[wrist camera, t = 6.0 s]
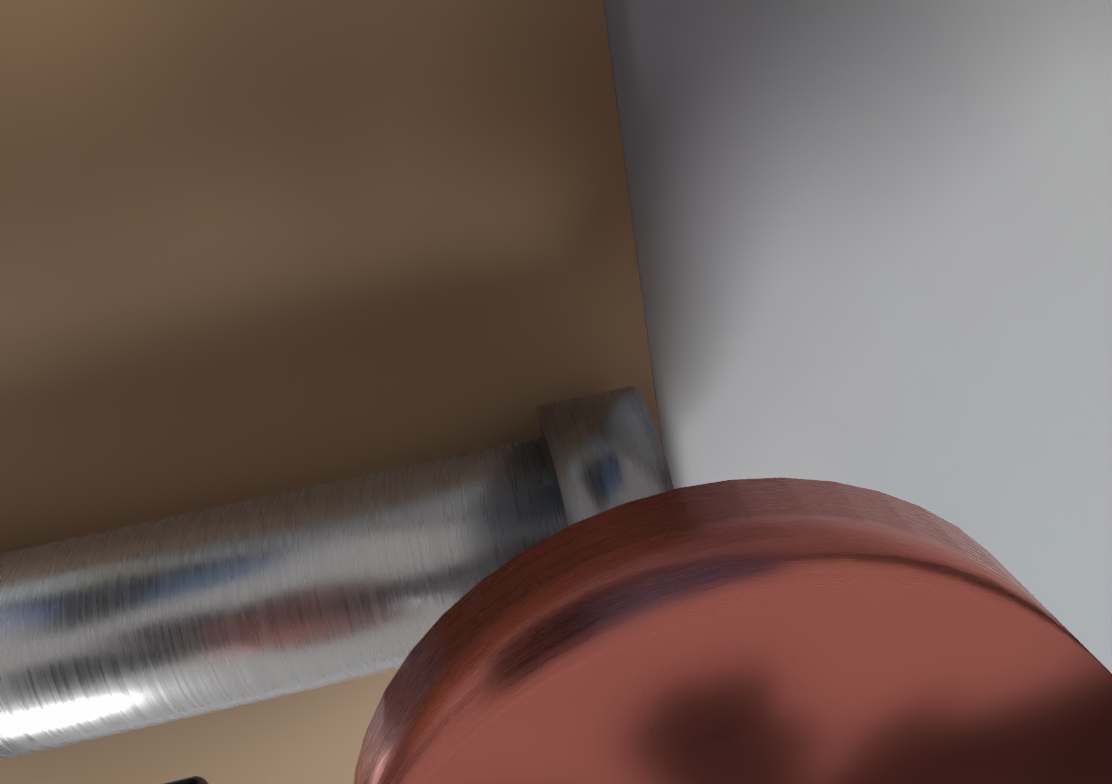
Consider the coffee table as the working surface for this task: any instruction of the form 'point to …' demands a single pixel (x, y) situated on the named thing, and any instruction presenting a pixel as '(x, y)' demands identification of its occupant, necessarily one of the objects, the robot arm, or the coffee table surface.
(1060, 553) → the coffee table surface
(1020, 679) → the silver and red piece
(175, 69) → the walnut board
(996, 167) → the coffee table surface
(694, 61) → the coffee table surface
